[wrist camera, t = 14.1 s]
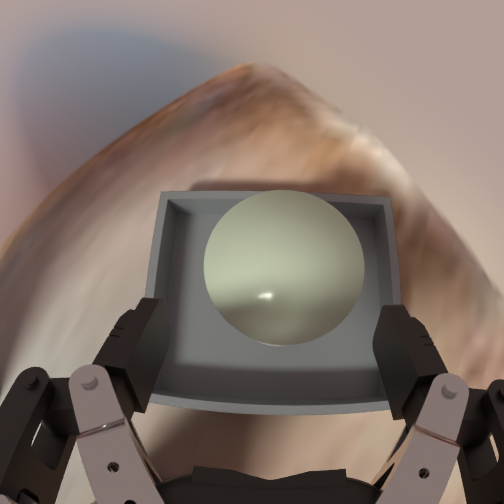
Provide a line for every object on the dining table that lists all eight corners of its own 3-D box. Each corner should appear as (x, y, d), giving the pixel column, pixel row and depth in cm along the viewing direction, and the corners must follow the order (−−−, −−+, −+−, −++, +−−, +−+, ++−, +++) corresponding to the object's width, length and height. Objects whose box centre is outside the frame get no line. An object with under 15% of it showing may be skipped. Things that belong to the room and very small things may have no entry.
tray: (154, 395, 19) (137, 400, 16) (172, 210, 24) (161, 191, 21) (383, 402, 18) (399, 408, 15) (377, 215, 23) (390, 197, 20)
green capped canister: (230, 346, 20) (196, 339, 10) (236, 261, 21) (212, 188, 12) (319, 349, 19) (365, 345, 10) (320, 264, 21) (358, 194, 12)
